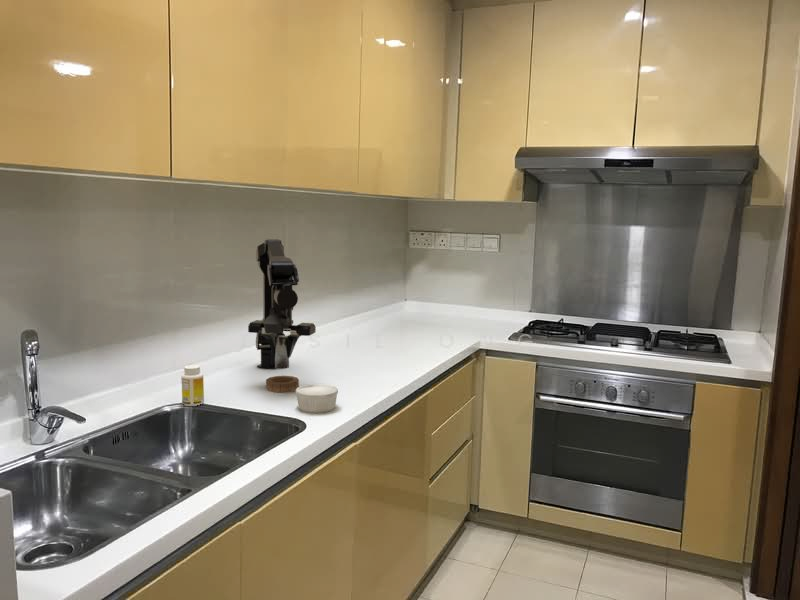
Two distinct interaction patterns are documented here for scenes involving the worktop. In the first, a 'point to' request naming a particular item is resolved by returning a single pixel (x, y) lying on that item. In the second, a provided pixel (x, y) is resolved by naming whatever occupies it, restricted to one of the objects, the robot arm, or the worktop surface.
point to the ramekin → (316, 398)
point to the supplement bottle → (192, 386)
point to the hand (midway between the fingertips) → (282, 356)
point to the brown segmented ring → (282, 383)
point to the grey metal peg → (281, 352)
